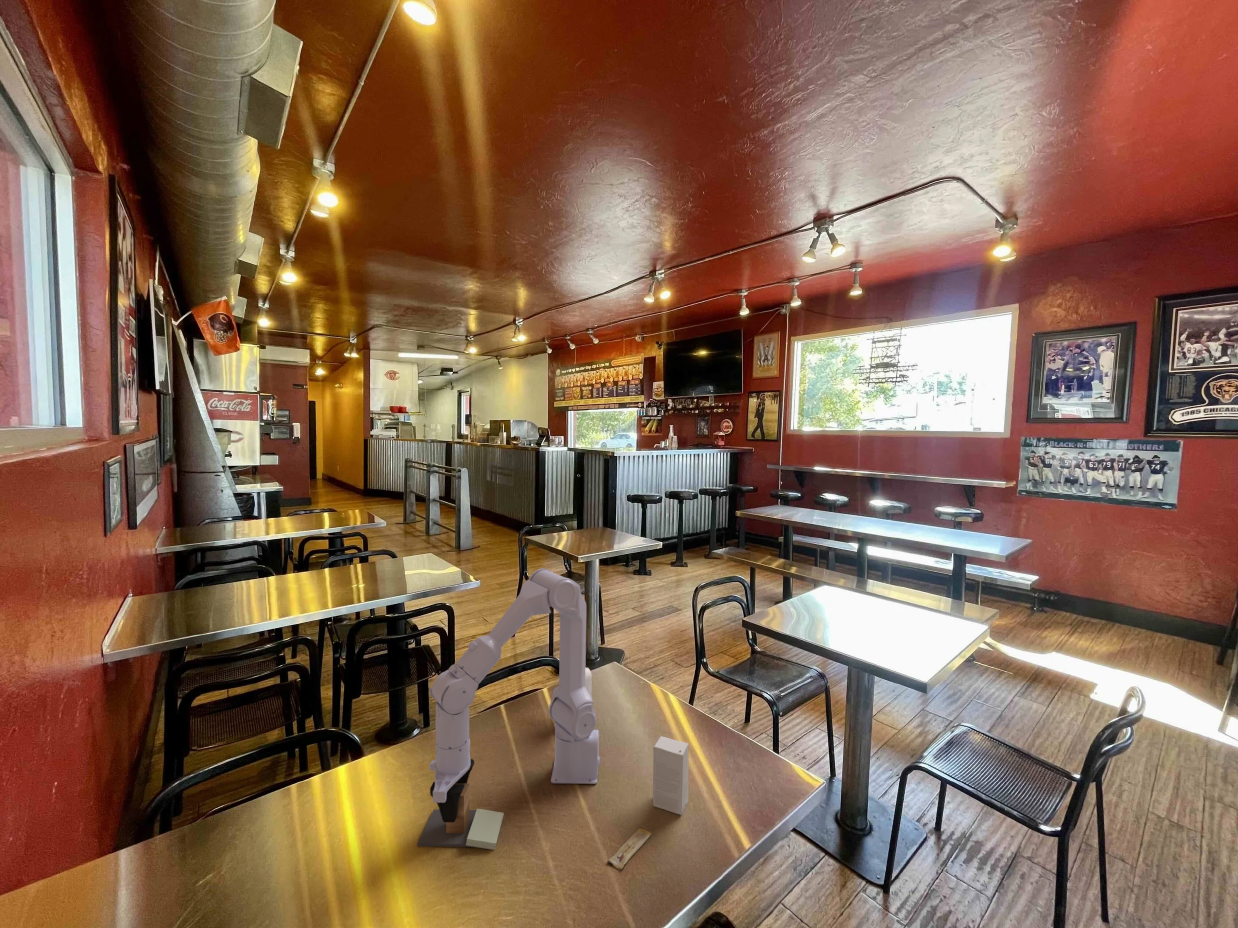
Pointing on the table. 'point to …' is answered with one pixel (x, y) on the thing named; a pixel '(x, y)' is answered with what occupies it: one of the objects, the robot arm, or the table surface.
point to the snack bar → (629, 848)
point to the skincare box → (670, 775)
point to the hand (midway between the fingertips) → (453, 811)
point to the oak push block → (461, 813)
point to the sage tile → (485, 829)
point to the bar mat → (443, 832)
